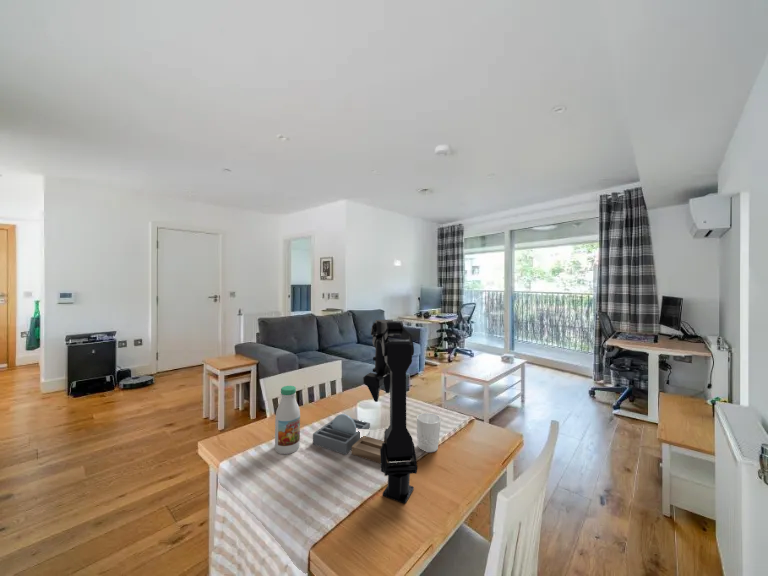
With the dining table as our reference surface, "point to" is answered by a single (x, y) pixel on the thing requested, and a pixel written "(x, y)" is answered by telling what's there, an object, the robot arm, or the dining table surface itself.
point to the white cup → (428, 431)
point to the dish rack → (338, 437)
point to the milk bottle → (287, 422)
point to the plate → (344, 424)
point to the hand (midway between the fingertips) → (381, 397)
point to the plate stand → (368, 448)
